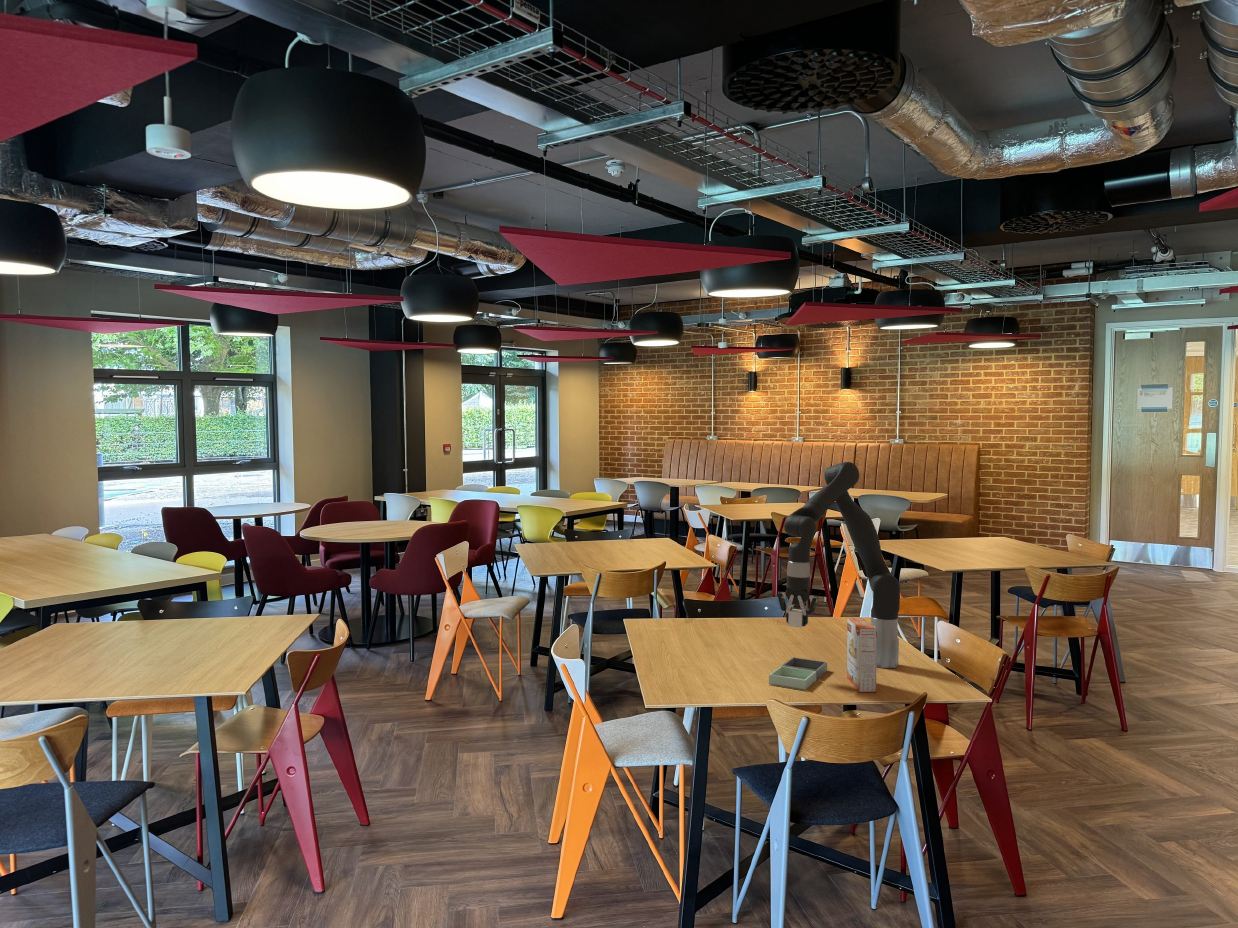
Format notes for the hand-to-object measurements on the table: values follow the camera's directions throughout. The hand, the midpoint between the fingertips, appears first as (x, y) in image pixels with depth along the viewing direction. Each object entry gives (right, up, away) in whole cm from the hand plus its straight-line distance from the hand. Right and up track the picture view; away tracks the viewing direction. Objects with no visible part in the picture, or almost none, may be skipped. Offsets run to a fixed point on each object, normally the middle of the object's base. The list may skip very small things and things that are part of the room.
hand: (796, 624), depth 266 cm
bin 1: (-3, -18, -7) cm, 19 cm away
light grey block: (0, 0, 0) cm, 0 cm away
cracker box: (+19, -19, -9) cm, 28 cm away
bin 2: (+4, -18, +5) cm, 19 cm away
